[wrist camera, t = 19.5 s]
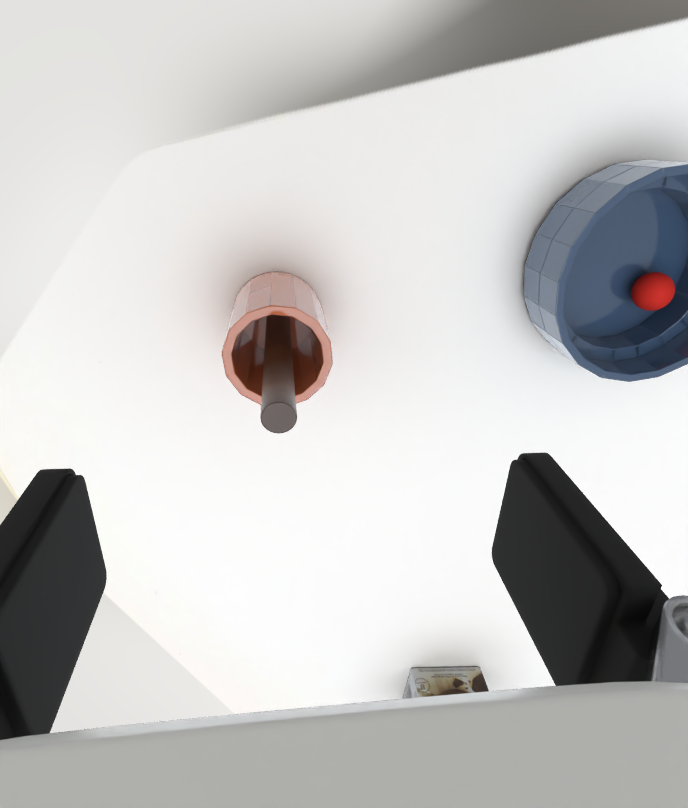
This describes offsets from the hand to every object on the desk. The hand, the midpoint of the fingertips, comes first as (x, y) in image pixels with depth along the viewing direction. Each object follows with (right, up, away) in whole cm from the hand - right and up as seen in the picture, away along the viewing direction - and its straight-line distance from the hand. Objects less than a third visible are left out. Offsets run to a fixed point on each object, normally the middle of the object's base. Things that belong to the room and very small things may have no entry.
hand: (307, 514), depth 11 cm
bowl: (+22, +14, +30) cm, 40 cm away
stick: (-4, +9, +28) cm, 30 cm away
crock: (-4, +9, +29) cm, 31 cm away
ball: (+25, +11, +29) cm, 40 cm away
